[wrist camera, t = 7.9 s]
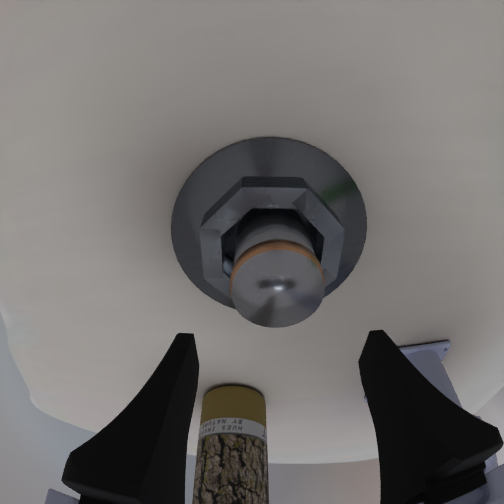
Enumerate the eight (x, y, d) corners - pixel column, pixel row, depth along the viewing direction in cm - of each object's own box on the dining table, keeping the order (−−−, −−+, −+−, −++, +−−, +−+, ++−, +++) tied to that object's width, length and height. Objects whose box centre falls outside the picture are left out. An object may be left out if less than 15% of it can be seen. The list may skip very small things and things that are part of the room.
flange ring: (347, 307, 24) (354, 329, 22) (184, 308, 24) (178, 330, 22) (377, 144, 17) (393, 154, 15) (163, 139, 17) (151, 148, 15)
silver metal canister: (313, 204, 19) (336, 255, 14) (301, 267, 21) (315, 329, 16) (236, 198, 19) (231, 249, 13) (233, 263, 21) (227, 326, 16)
